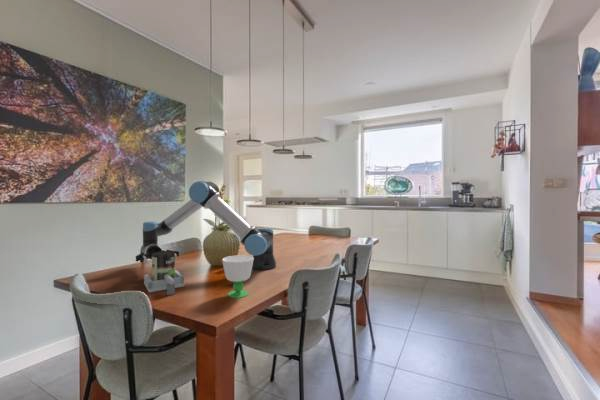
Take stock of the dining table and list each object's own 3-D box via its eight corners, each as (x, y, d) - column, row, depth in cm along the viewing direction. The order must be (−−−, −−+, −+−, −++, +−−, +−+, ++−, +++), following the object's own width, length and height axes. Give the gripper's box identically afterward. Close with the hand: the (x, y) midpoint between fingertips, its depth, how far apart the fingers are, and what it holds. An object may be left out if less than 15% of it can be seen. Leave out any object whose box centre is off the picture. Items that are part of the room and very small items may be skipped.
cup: (224, 301, 121) (224, 263, 120) (219, 291, 133) (219, 256, 133) (257, 297, 126) (257, 260, 126) (249, 287, 139) (249, 254, 138)
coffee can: (179, 279, 146) (179, 251, 145) (166, 286, 136) (165, 255, 135) (161, 278, 148) (160, 250, 148) (146, 284, 138) (146, 254, 137)
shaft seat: (144, 283, 144) (143, 269, 143) (176, 278, 152) (176, 265, 152) (152, 298, 124) (152, 282, 124) (189, 291, 133) (188, 276, 133)
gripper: (177, 255, 169) (187, 263, 152) (127, 261, 155) (132, 270, 137) (177, 242, 169) (187, 248, 152) (127, 247, 154) (132, 254, 137)
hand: (161, 259), depth 145 cm, fingers open, 13 cm apart
